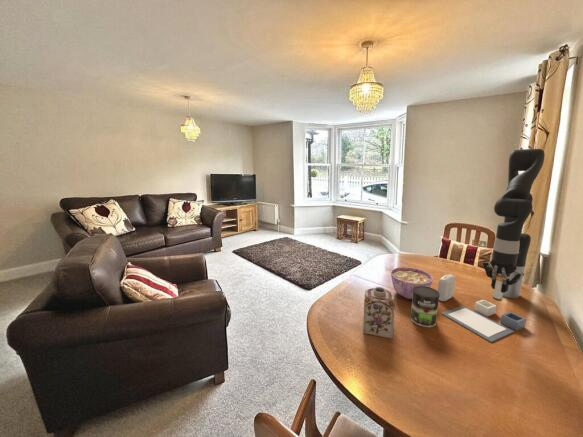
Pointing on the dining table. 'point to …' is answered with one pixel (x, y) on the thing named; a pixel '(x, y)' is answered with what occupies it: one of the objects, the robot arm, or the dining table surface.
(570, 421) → the dining table surface
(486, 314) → the cup
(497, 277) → the marker
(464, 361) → the dining table surface
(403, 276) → the bowl of food
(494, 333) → the writing board
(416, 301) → the coffee can
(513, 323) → the cup
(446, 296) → the photo printer
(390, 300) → the decorative jar
